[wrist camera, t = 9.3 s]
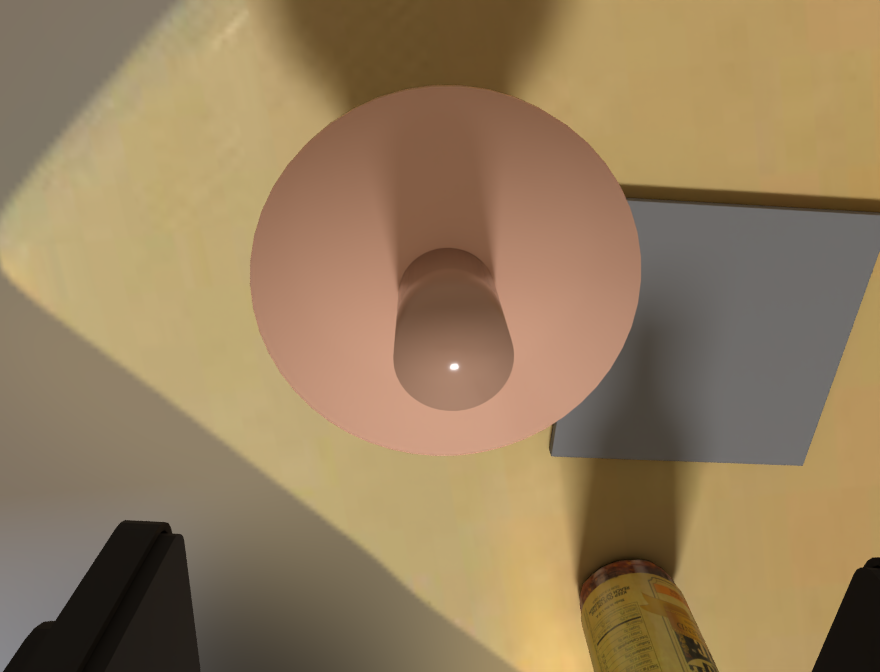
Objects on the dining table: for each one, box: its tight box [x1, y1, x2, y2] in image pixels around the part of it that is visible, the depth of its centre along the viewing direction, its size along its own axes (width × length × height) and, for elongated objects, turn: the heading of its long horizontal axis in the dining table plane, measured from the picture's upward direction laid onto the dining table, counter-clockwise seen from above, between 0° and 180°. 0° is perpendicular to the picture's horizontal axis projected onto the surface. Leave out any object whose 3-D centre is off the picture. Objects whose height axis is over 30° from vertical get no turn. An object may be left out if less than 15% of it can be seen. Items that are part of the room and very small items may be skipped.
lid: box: [250, 85, 641, 456], centre depth 19 cm, size 12×12×5 cm
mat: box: [549, 198, 880, 466], centre depth 33 cm, size 14×14×1 cm
